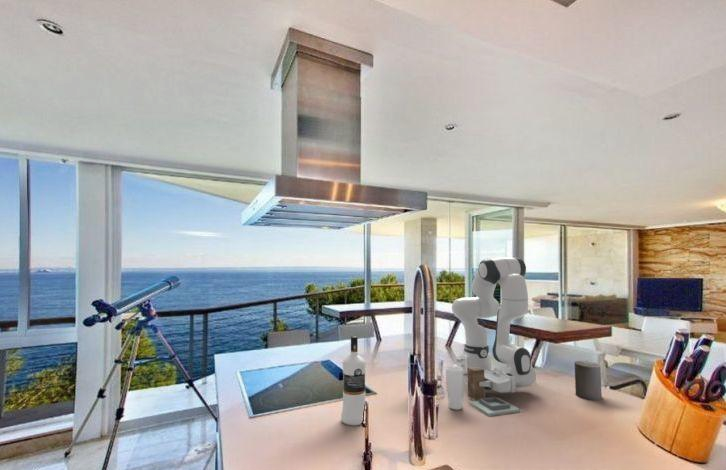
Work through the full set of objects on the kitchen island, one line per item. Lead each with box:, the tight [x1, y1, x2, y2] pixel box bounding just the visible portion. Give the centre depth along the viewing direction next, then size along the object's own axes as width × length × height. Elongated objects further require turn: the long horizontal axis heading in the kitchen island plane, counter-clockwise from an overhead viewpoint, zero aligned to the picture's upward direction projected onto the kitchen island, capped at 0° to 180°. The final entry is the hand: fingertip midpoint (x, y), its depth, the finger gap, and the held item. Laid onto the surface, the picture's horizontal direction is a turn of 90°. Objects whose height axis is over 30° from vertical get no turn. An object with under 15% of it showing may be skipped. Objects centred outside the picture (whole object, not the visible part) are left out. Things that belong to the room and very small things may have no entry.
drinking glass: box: [445, 365, 465, 411], centre depth 144 cm, size 7×7×15 cm
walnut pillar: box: [466, 367, 486, 401], centre depth 155 cm, size 5×5×12 cm
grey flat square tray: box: [469, 396, 521, 417], centre depth 143 cm, size 12×14×2 cm
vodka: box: [340, 335, 366, 427], centre depth 132 cm, size 9×9×30 cm
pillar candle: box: [574, 360, 603, 401], centre depth 156 cm, size 10×10×15 cm
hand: (474, 381), depth 155 cm, fingers open, 5 cm apart
